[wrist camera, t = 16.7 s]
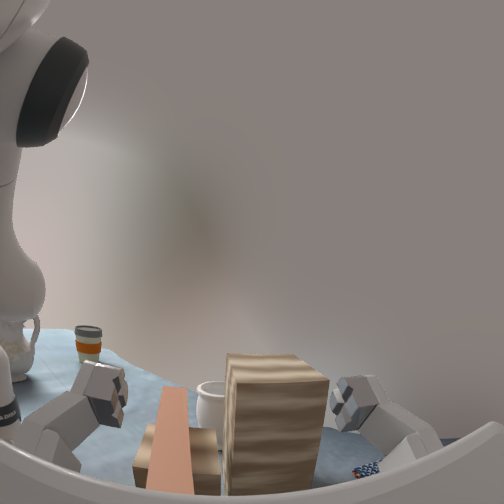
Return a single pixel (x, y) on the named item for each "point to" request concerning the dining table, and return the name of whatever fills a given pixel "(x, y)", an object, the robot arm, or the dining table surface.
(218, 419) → the jar
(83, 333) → the reusable coffee cup
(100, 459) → the dining table surface
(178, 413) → the rod
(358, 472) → the woven mat
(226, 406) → the stand
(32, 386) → the dining table surface
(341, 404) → the robot arm
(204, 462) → the base block
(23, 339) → the ceramic pitcher
